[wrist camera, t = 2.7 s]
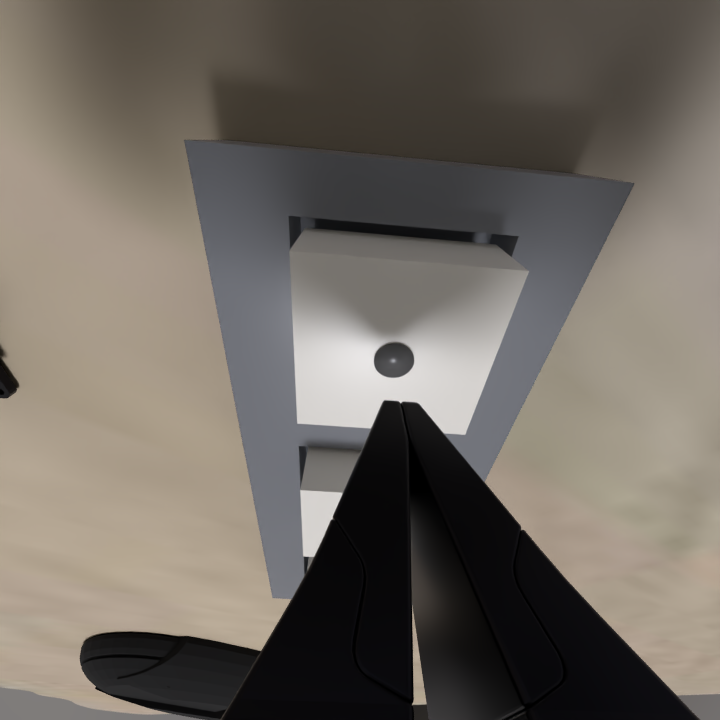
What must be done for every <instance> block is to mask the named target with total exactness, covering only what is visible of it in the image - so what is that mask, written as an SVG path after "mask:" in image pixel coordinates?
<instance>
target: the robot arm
mask: <svg viewBox="0 0 720 720" xmlns="http://www.w3.org/2000/svg"><path fill="white" fill-rule="evenodd" d="M16 391H17V389H16V387H15V385H14V384H13V382H12V381H11V379H10V378H9V377H8V375H7V374H6V372H5V371H4V369H3V368H2V366H1V365H0V398H8V397H10V396H11V395H13V394H14V393H15V392H16ZM412 605H413V612H414V619H415V626H416V633H417V640H418V647H419V654H420V661H421V667H422V674H423V681H424V688H425V695H426V702H427V708H428V716H429V720H700V719H699V718H698V717H697V716H696V715H695V714H694V713H693V712H692V711H691V710H690V709H689V708H688V707H687V706H686V705H685V704H684V703H683V702H682V701H681V700H680V699H679V697H678V696H677V695H676V694H675V693H674V692H673V691H672V690H671V689H670V688H669V687H668V686H667V685H666V684H665V683H664V682H663V681H662V680H661V679H660V678H659V677H658V676H657V675H656V674H655V672H654V671H653V670H652V669H651V668H650V667H649V666H648V665H647V664H646V663H645V662H644V661H643V660H642V659H641V658H640V657H639V656H638V655H637V654H636V653H635V652H634V651H633V650H632V649H631V647H630V646H629V645H628V644H627V643H626V642H625V641H624V640H623V639H622V638H621V637H620V636H619V635H618V634H617V633H616V632H615V631H614V630H613V629H612V628H611V627H610V626H609V625H608V623H607V622H606V621H605V620H604V619H603V618H602V617H601V616H600V615H599V614H598V613H597V612H596V611H595V610H594V609H593V608H592V607H591V605H590V604H589V603H588V602H587V601H586V600H585V599H584V598H583V597H582V596H581V595H580V594H579V593H578V591H577V590H576V589H575V588H574V587H573V586H572V585H571V584H570V583H569V582H568V581H567V580H566V578H565V577H564V576H563V575H562V574H561V573H560V571H559V570H558V569H557V568H556V567H555V566H554V565H553V563H552V562H551V561H550V560H549V559H548V558H547V556H546V555H545V554H544V553H543V552H542V551H541V550H540V548H539V547H538V546H537V545H536V544H535V542H534V541H533V540H532V539H531V537H530V536H529V535H528V534H527V533H526V531H524V530H521V526H520V524H519V523H518V522H517V521H516V520H515V518H514V517H513V516H512V515H511V514H510V512H509V511H508V510H507V509H506V508H505V506H504V505H503V504H502V503H501V502H500V500H499V499H498V498H497V497H496V496H495V494H494V493H493V492H492V491H491V490H490V488H489V487H488V486H487V485H486V484H485V482H484V481H483V480H482V479H481V478H480V476H479V475H478V474H477V473H476V471H475V470H474V469H473V468H472V467H471V465H470V464H469V463H468V462H467V461H466V459H465V458H464V457H463V456H462V455H461V453H460V452H459V451H458V450H457V449H456V447H455V446H454V445H453V444H452V443H451V441H450V440H449V439H448V438H447V437H446V435H445V434H444V433H443V432H442V431H441V429H440V428H439V427H438V426H437V425H436V423H435V422H434V421H433V420H432V418H431V417H430V416H429V415H428V414H427V412H426V411H425V410H424V409H423V408H422V406H421V405H420V404H419V403H417V402H406V401H403V402H401V403H400V402H399V401H392V400H384V401H383V402H382V404H381V407H380V409H379V411H378V413H377V416H376V418H375V420H374V423H373V425H372V427H371V430H370V432H369V434H368V436H367V439H366V441H365V443H364V446H363V448H362V450H361V452H360V455H359V457H358V459H357V462H356V464H355V466H354V469H353V471H352V473H351V475H350V478H349V480H348V482H347V485H346V487H345V489H344V492H343V494H342V496H341V498H340V501H339V503H338V505H337V508H336V510H335V512H334V514H333V519H332V520H331V521H330V523H329V525H328V528H327V530H326V532H325V535H324V537H323V539H322V541H321V543H320V545H319V547H318V550H317V552H316V554H315V556H314V558H313V560H312V562H311V564H310V566H309V568H308V570H307V572H306V574H305V576H304V578H303V579H302V581H301V583H300V585H299V587H298V588H297V590H296V592H295V594H294V596H293V598H292V599H291V601H290V603H289V605H288V606H287V608H286V610H285V612H284V613H283V615H282V617H281V618H280V620H279V622H278V623H277V625H276V627H275V629H274V630H273V632H272V634H271V635H270V637H269V639H268V640H267V642H266V644H265V646H264V647H263V649H262V651H261V652H260V654H259V656H258V657H257V659H256V661H255V663H254V664H253V666H252V668H251V669H250V671H249V673H248V674H247V676H246V678H245V680H244V681H243V683H242V685H241V686H240V688H239V690H238V691H237V693H236V695H235V697H234V698H233V700H232V702H231V703H230V705H229V706H228V708H227V710H226V711H225V713H224V715H223V716H222V718H221V719H220V720H414V712H413V706H412V703H413V700H414V697H413V638H412Z"/></svg>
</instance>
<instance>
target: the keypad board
mask: <svg viewBox="0 0 720 720" xmlns="http://www.w3.org/2000/svg"><path fill="white" fill-rule="evenodd" d="M184 141H185V146H186V151H187V157H188V162H189V167H190V172H191V177H192V183H193V188H194V193H195V198H196V203H197V208H198V214H199V219H200V224H201V229H202V234H203V240H204V245H205V250H206V255H207V260H208V265H209V271H210V276H211V281H212V286H213V291H214V297H215V302H216V307H217V312H218V317H219V322H220V328H221V333H222V338H223V343H224V348H225V354H226V359H227V364H228V369H229V374H230V380H231V385H232V390H233V395H234V400H235V405H236V411H237V416H238V421H239V426H240V431H241V437H242V442H243V447H244V452H245V457H246V462H247V468H248V473H249V478H250V483H251V488H252V494H253V499H254V504H255V509H256V514H257V519H258V525H259V530H260V535H261V540H262V545H263V551H264V556H265V561H266V566H267V571H268V576H269V582H270V587H271V592H272V597H273V598H283V599H292V598H293V596H294V594H295V592H296V590H297V588H298V587H299V585H300V583H301V581H302V579H303V578H304V576H305V574H306V572H307V567H308V559H309V557H305V556H303V539H302V517H301V495H300V489H301V484H302V478H303V473H304V467H305V462H306V457H307V451H308V447H323V448H338V449H354V450H362V448H363V446H364V443H365V441H366V439H367V436H368V434H369V432H370V430H371V428H356V427H341V426H326V425H311V424H297V407H296V385H295V363H294V341H293V319H292V297H291V275H290V253H289V251H290V249H291V248H292V246H293V245H294V243H295V242H296V240H297V239H298V238H299V236H300V235H301V233H302V232H303V230H304V229H305V228H315V229H326V230H338V231H349V232H360V233H372V234H383V235H394V236H406V237H417V238H429V239H440V240H451V241H463V242H474V243H485V244H496V245H497V246H498V247H499V248H501V249H502V250H503V251H504V252H506V253H507V254H508V255H509V256H511V257H512V258H513V259H514V260H516V261H517V262H518V263H519V264H521V265H522V266H523V267H524V268H526V269H527V270H528V271H529V273H528V275H527V278H526V280H525V283H524V286H523V288H522V291H521V293H520V296H519V298H518V301H517V303H516V306H515V309H514V311H513V314H512V316H511V319H510V321H509V324H508V326H507V329H506V332H505V334H504V337H503V339H502V342H501V344H500V347H499V349H498V352H497V355H496V357H495V360H494V362H493V365H492V367H491V370H490V372H489V375H488V378H487V380H486V383H485V385H484V388H483V390H482V393H481V395H480V398H479V401H478V403H477V406H476V408H475V411H474V413H473V416H472V419H471V421H470V424H469V426H468V429H467V431H466V434H465V435H460V434H445V433H444V434H445V435H446V437H447V438H448V439H449V440H450V441H451V443H452V444H453V445H454V446H455V447H456V449H457V450H458V451H459V452H460V453H461V455H462V456H463V457H464V458H465V459H466V461H467V462H468V463H469V464H470V465H471V467H472V468H473V469H474V470H475V471H476V473H477V474H478V475H479V476H480V478H481V479H482V480H483V481H484V482H485V480H486V478H487V476H488V474H489V472H490V470H491V468H492V466H493V464H494V462H495V460H496V458H497V456H498V454H499V452H500V450H501V448H502V446H503V444H504V442H505V440H506V438H507V436H508V434H509V432H510V430H511V428H512V426H513V424H514V422H515V420H516V418H517V416H518V414H519V412H520V410H521V408H522V406H523V404H524V402H525V400H526V398H527V396H528V394H529V392H530V390H531V388H532V386H533V384H534V382H535V380H536V378H537V376H538V374H539V372H540V370H541V368H542V366H543V364H544V362H545V360H546V358H547V356H548V354H549V352H550V350H551V348H552V346H553V344H554V342H555V340H556V338H557V336H558V334H559V332H560V330H561V328H562V327H563V325H564V323H565V321H566V319H567V317H568V315H569V313H570V311H571V309H572V307H573V305H574V303H575V301H576V299H577V297H578V295H579V293H580V291H581V289H582V287H583V285H584V283H585V281H586V279H587V277H588V275H589V273H590V271H591V269H592V267H593V265H594V263H595V261H596V259H597V257H598V255H599V253H600V251H601V249H602V247H603V245H604V243H605V241H606V239H607V237H608V235H609V233H610V231H611V229H612V227H613V225H614V223H615V221H616V219H617V217H618V215H619V213H620V211H621V209H622V207H623V205H624V203H625V201H626V199H627V197H628V195H629V193H630V191H631V189H632V187H633V185H634V183H631V182H624V181H618V180H612V179H606V178H599V177H593V176H587V175H580V174H574V173H563V172H553V171H543V170H532V169H522V168H512V167H501V166H491V165H480V164H470V163H460V162H449V161H439V160H429V159H418V158H408V157H398V156H387V155H377V154H366V153H356V152H346V151H335V150H325V149H315V148H304V147H294V146H284V145H273V144H263V143H252V142H242V141H232V140H184Z"/></svg>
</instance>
